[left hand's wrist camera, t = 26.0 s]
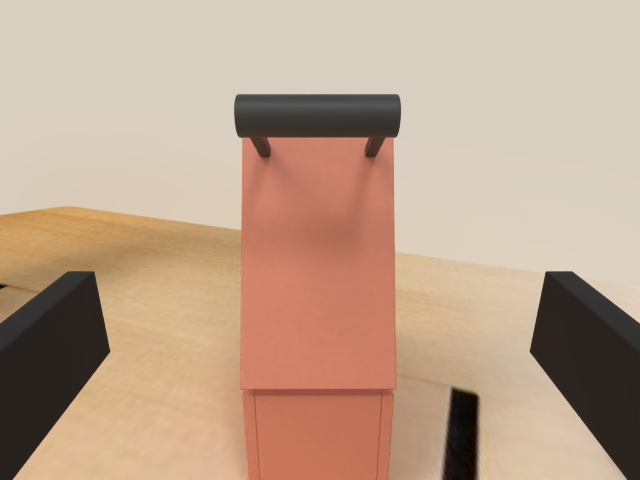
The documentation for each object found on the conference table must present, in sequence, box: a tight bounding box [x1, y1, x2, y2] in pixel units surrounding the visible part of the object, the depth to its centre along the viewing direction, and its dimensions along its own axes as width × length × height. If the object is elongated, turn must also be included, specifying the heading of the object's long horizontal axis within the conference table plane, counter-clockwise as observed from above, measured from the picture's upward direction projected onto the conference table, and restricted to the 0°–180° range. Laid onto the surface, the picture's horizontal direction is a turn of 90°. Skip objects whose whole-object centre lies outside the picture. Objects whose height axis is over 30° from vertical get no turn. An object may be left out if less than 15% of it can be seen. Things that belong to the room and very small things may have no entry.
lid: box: [234, 94, 401, 389], centre depth 24 cm, size 17×10×9 cm
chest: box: [243, 389, 394, 480], centre depth 37 cm, size 17×10×9 cm, turn 0°
